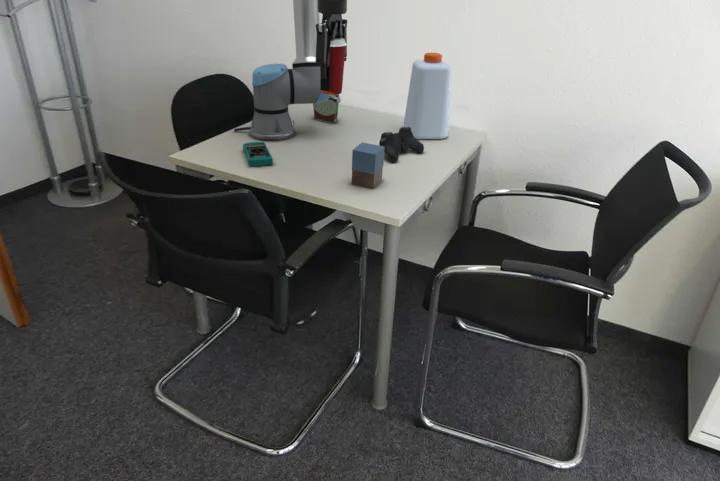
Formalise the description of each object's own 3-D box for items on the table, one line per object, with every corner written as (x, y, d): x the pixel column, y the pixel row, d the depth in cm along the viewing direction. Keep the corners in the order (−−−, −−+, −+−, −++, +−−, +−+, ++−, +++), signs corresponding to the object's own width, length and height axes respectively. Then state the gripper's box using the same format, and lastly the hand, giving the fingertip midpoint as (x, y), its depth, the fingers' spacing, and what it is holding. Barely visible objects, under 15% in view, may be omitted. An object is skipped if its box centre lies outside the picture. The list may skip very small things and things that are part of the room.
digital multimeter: (249, 167, 159) (248, 158, 158) (242, 150, 171) (242, 142, 170) (273, 165, 161) (273, 156, 160) (265, 149, 173) (265, 140, 172)
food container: (346, 120, 203) (347, 94, 198) (337, 124, 198) (338, 98, 193) (320, 114, 208) (320, 89, 203) (311, 118, 204) (311, 92, 199)
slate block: (351, 169, 149) (352, 149, 146) (361, 161, 155) (362, 142, 152) (374, 174, 147) (375, 154, 144) (383, 166, 153) (384, 146, 150)
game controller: (412, 155, 181) (404, 126, 179) (426, 151, 176) (418, 122, 174) (379, 166, 171) (370, 136, 169) (393, 162, 166) (384, 131, 164)
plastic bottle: (440, 126, 201) (449, 50, 187) (450, 140, 188) (461, 59, 174) (401, 126, 199) (407, 49, 185) (409, 140, 186) (416, 58, 172)
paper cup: (347, 89, 149) (348, 37, 142) (343, 96, 142) (344, 42, 135) (320, 88, 150) (320, 36, 143) (315, 94, 143) (314, 40, 136)
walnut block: (351, 184, 152) (351, 169, 149) (360, 175, 157) (361, 161, 155) (373, 188, 149) (374, 174, 147) (381, 180, 155) (382, 166, 153)
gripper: (327, 0, 125) (327, 97, 136) (361, -5, 141) (358, 82, 152) (300, -3, 128) (302, 93, 139) (336, -7, 143) (335, 79, 154)
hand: (331, 87), depth 145 cm, fingers closed on paper cup, 6 cm apart
